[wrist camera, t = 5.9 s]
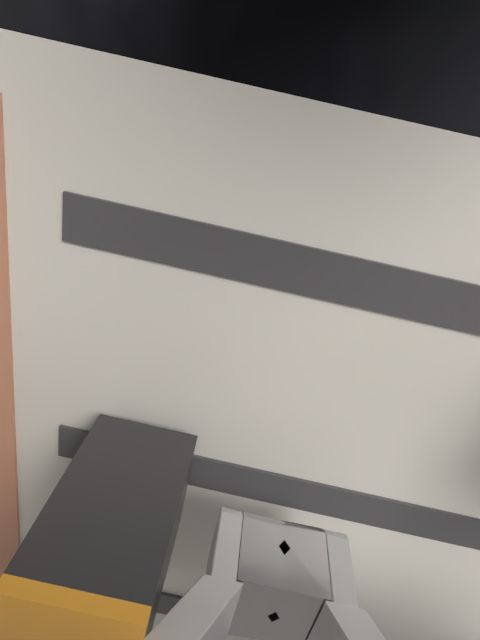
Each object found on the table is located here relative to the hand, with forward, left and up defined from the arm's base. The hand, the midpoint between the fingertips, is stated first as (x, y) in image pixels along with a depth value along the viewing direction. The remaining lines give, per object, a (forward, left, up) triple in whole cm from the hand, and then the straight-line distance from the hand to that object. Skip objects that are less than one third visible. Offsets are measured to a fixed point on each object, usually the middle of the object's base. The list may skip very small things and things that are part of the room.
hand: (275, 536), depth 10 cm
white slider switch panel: (0, +3, -4) cm, 5 cm away
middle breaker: (0, -4, -1) cm, 4 cm away
